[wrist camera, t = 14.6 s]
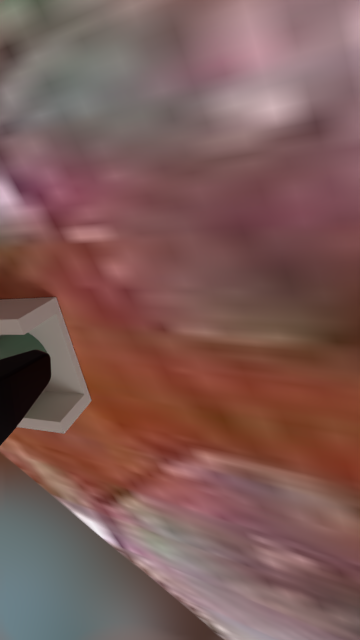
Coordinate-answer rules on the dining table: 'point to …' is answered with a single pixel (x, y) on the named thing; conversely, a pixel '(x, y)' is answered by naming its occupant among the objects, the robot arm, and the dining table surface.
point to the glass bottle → (18, 344)
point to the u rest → (66, 377)
